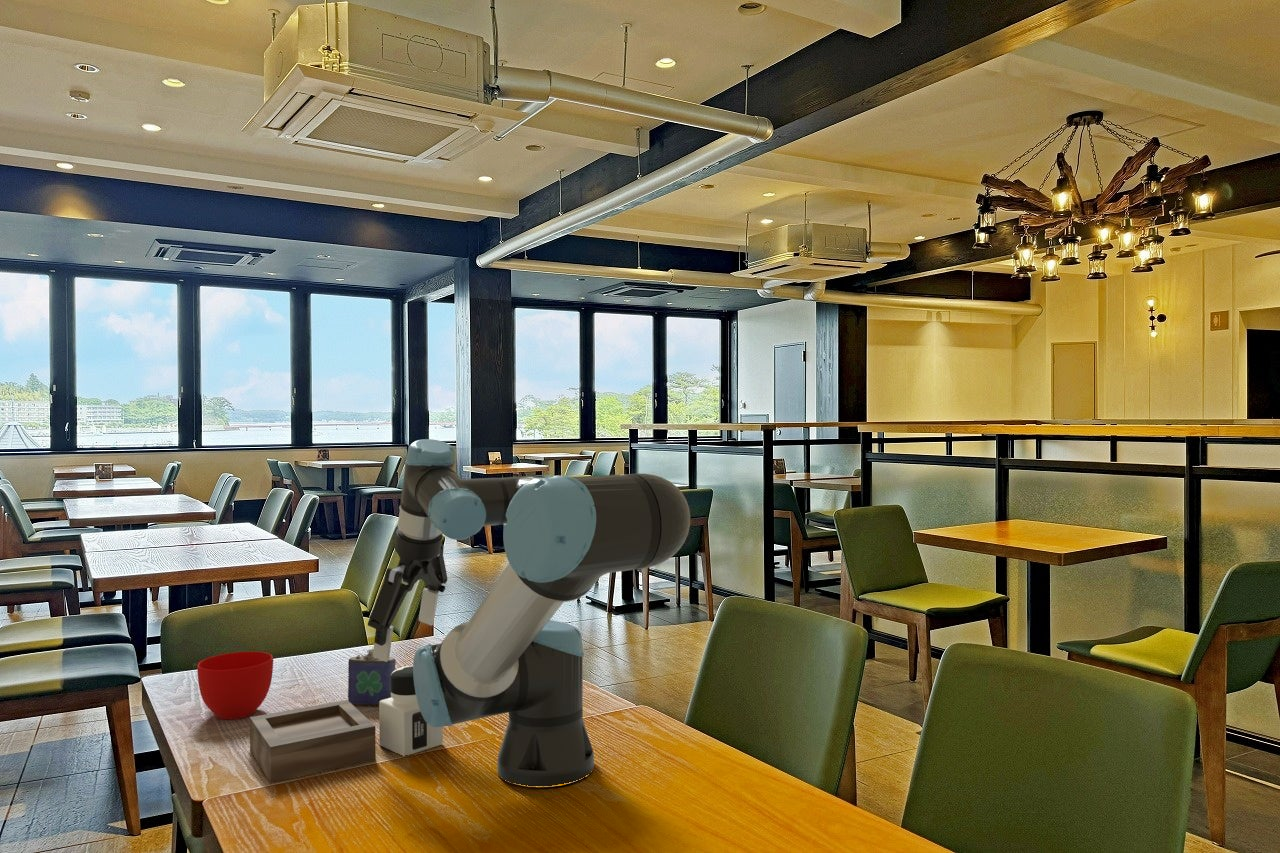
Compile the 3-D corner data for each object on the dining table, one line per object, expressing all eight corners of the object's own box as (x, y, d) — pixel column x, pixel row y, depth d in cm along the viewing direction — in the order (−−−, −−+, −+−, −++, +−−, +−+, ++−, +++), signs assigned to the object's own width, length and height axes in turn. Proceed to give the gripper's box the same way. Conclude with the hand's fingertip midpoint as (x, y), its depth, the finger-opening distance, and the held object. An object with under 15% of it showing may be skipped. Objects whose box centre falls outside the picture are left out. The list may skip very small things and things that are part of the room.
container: (443, 744, 149) (443, 668, 149) (403, 757, 143) (403, 678, 143) (418, 733, 154) (417, 659, 154) (378, 745, 149) (378, 669, 149)
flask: (397, 702, 171) (397, 647, 171) (392, 707, 168) (392, 651, 168) (350, 701, 172) (350, 647, 172) (345, 706, 169) (344, 651, 169)
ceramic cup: (250, 693, 177) (249, 644, 177) (284, 713, 165) (284, 660, 165) (180, 708, 168) (180, 656, 168) (211, 731, 156) (211, 674, 156)
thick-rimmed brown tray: (375, 759, 142) (375, 726, 142) (270, 783, 133) (270, 747, 133) (347, 730, 156) (347, 699, 156) (250, 750, 147) (249, 717, 147)
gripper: (441, 500, 158) (425, 602, 165) (353, 550, 135) (340, 666, 142) (477, 513, 156) (460, 616, 163) (395, 566, 133) (379, 683, 140)
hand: (404, 639), depth 152 cm, fingers open, 13 cm apart
